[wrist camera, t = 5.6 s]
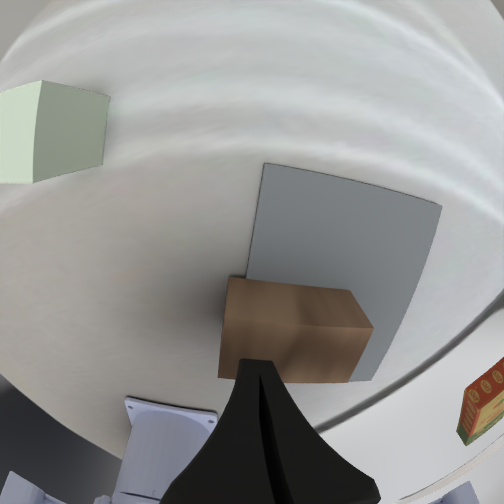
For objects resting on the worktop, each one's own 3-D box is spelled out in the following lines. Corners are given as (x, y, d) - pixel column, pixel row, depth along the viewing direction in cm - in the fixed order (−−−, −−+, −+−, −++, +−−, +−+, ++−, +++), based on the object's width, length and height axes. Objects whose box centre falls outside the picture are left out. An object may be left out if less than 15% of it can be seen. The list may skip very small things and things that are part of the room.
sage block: (102, 164, 13) (32, 183, 7) (51, 164, 13) (-20, 183, 7) (110, 96, 12) (42, 80, 6) (57, 101, 11) (-14, 97, 6)
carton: (508, 349, 21) (526, 369, 17) (493, 402, 27) (504, 418, 23) (462, 388, 23) (478, 412, 19) (455, 431, 28) (465, 448, 24)
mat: (368, 376, 19) (370, 380, 19) (230, 372, 18) (230, 377, 18) (437, 204, 14) (442, 206, 14) (264, 162, 13) (265, 163, 13)
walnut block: (221, 331, 16) (331, 340, 17) (217, 377, 13) (347, 382, 13) (228, 276, 15) (349, 289, 16) (225, 317, 11) (374, 328, 12)
